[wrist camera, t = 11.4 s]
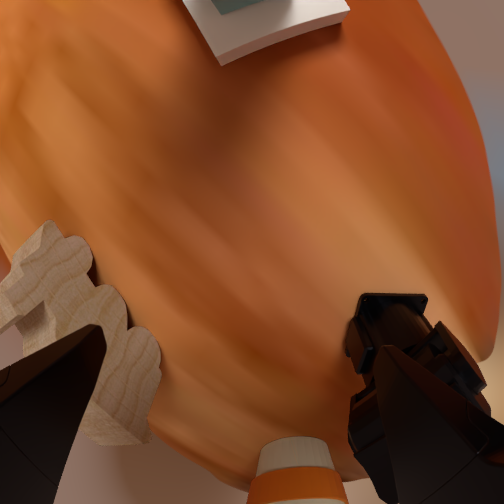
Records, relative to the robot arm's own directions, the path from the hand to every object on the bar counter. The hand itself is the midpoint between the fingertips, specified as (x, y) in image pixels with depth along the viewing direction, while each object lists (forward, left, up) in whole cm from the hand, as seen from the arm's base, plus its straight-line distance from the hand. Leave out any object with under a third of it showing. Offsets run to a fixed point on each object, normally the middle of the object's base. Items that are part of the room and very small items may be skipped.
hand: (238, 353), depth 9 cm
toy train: (+13, +8, -13) cm, 20 cm away
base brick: (+1, -17, -14) cm, 22 cm away
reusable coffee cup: (-7, +30, -13) cm, 34 cm away
